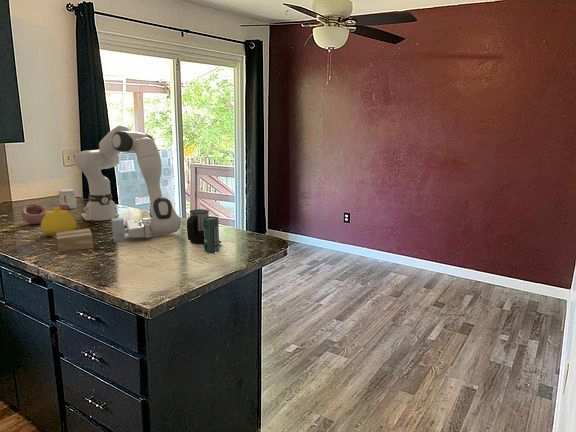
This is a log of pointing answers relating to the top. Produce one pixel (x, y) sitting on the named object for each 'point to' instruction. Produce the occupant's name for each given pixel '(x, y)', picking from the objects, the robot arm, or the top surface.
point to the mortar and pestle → (33, 213)
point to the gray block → (118, 224)
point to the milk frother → (196, 226)
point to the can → (211, 234)
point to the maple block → (74, 239)
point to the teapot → (57, 222)
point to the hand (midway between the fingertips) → (116, 229)
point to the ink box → (67, 199)
